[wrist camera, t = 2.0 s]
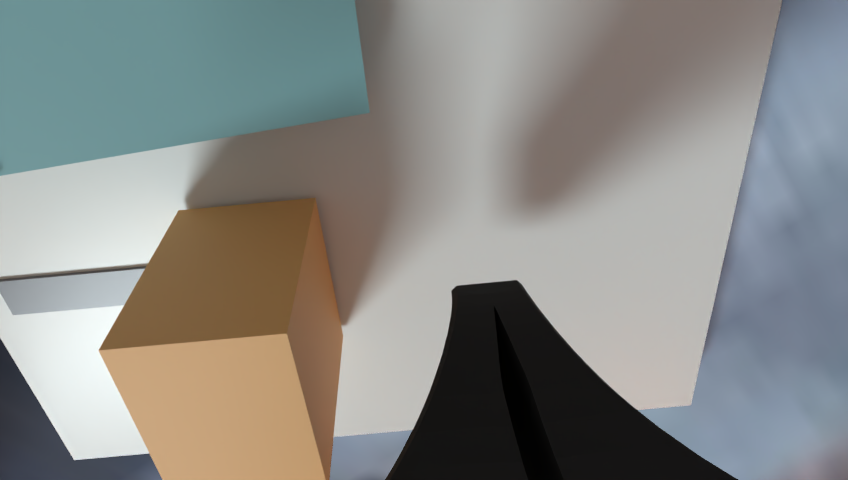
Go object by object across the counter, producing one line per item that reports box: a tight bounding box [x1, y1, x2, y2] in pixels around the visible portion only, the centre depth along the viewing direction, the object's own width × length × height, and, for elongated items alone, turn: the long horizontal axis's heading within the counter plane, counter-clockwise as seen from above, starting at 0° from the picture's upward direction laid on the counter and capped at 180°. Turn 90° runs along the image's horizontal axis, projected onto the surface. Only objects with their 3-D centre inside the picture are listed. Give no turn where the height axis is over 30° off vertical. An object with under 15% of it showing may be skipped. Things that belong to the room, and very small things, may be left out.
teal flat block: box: [0, 0, 370, 176], centre depth 10 cm, size 8×4×1 cm, turn 95°
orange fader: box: [98, 198, 343, 480], centre depth 13 cm, size 3×4×4 cm
